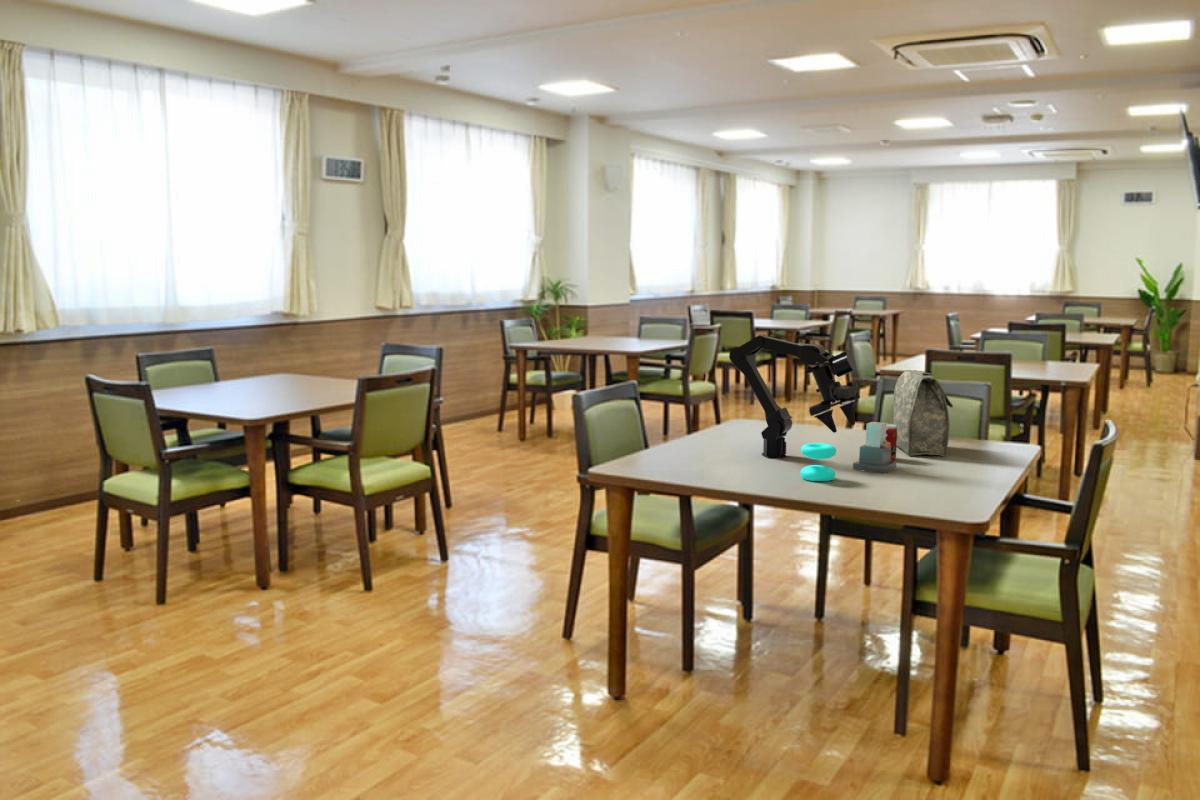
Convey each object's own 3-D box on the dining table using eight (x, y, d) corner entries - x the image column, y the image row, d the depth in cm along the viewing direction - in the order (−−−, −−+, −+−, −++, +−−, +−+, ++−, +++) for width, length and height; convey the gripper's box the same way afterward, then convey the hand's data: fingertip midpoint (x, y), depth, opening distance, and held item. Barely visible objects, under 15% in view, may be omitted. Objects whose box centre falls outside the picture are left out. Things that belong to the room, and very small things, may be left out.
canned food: (897, 461, 309) (898, 427, 307) (871, 460, 311) (872, 426, 309) (894, 457, 316) (896, 423, 315) (869, 456, 318) (870, 422, 317)
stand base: (852, 469, 297) (853, 442, 296) (864, 464, 305) (865, 437, 304) (884, 473, 291) (886, 445, 290) (896, 467, 299) (897, 440, 298)
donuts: (808, 441, 289) (841, 444, 284) (807, 474, 291) (839, 477, 285) (796, 446, 281) (829, 449, 276) (795, 480, 282) (828, 484, 277)
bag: (954, 457, 316) (958, 373, 313) (904, 456, 317) (908, 373, 313) (933, 444, 339) (937, 366, 335) (887, 444, 339) (890, 366, 335)
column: (865, 462, 297) (866, 423, 296) (870, 459, 301) (871, 421, 299) (881, 464, 294) (882, 425, 293) (886, 461, 298) (888, 423, 296)
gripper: (825, 381, 294) (845, 429, 292) (863, 368, 305) (882, 414, 303) (799, 391, 302) (818, 438, 301) (837, 378, 314) (855, 423, 312)
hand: (844, 428), depth 304 cm, fingers open, 9 cm apart
